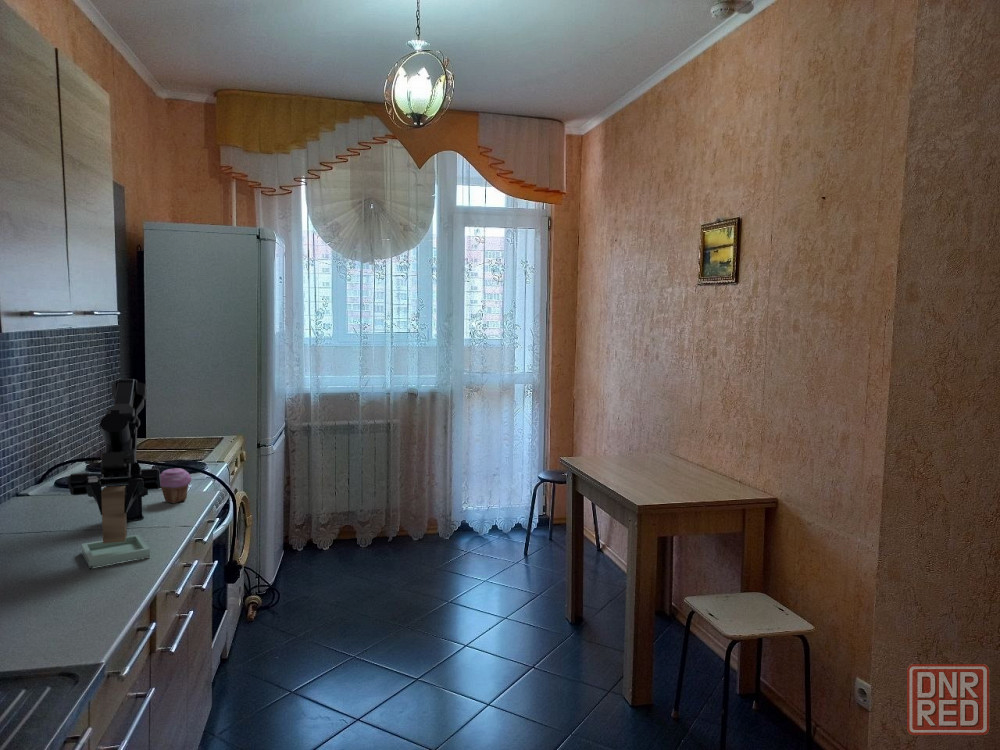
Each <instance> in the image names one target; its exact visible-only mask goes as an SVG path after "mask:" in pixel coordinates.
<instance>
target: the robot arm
mask: <svg viewBox="0 0 1000 750" xmlns="http://www.w3.org/2000/svg"><path fill="white" fill-rule="evenodd" d="M147 390H148V389H147V386H146V383H143V382H140V381H138V380H137V379H134V378H119V379H115V382H114V383H112V384H111V395H110V397H111V399H112V400H113V404H112V405H113V406H110V407H109V408H107V409H106V411H105V415H104V416H102V418H101V420H100V421H99V431H100V432H101V434H102V435H101V436H102V439H103V442H104V443H105V445H104V452H103V453H101V456H100V474H101V475H102V476H98V475H97V476H95V475H94V476H93V475H92V476H90V472H76V473H74V472H73V473H71V474H69V475H68V478H67V486H68V490H69V493H70V495H72V496H83V495H87V497H90V498H93V499H94V501H95V502H96V504H97V508H98V510H99V512H100V516H102V497H101V492H102V490H103V488H102V487H106V486H108V487H115V486H126V501H125V509H124V512H125V513H126V517H127V522H131V521H138V520H143V519H145V516H144V515H143V498H145V496H148V495H149V491H151V490H159V489H161V477H160V475H161V470H160V469H159V468H157V467H155V468H152V467H151V468H142V467H141V465H140V463H139V462H138V461H137V443H138V441H137V440H138V439H137V438H138V429H139V428H140V426H141V419H139V417H138V415H139V413H141V411H142V410H143V409H144V406H145V400H147V396H148V393H147Z"/></svg>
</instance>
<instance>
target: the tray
mask: <svg viewBox="0 0 1000 750" xmlns="http://www.w3.org/2000/svg"><path fill="white" fill-rule="evenodd" d="M81 554H82V557H83V556H84V557H83V559H84V558H85V559H84V561H85V560H86V561H85V563H86V562H87V563H86V565H87V564H88V565H87V567H88V566H89V567H88V569H89V568H93V567H97V566H103V565H107V564H113V563H117V562H122V561H128V560H134V559H142V558H147V557H150V558H151V550H150V547H149V546H148V545H147V543H146V541H145V540H144V539H143V538H142V537H141V534H131V535H127V537H126V540H125V541H124V542H114V543H104V544H103V540H98V541H92V542H85V543H81ZM142 560H143V559H142Z"/></svg>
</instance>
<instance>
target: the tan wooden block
mask: <svg viewBox="0 0 1000 750" xmlns="http://www.w3.org/2000/svg"><path fill="white" fill-rule="evenodd" d="M101 497H102V515H101V520H102V522H101V523H102V525H101V526H102V541H103V544H104V543H114V542H124V541H125V540H126V537H127V536H128V526H127V522H128V521H127V517H126V513H125V512H124V509H125V501H126V486H115V487H106V486H103V488H102V492H101Z"/></svg>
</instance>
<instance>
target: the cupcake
mask: <svg viewBox="0 0 1000 750" xmlns="http://www.w3.org/2000/svg"><path fill="white" fill-rule="evenodd" d="M160 477H161V488H160V489H161V491H162V495H163V498H164V500H165V501H166V502H168V503H170V504H176V503H179V502H183V501H186V499H187V497H188V489H189V486H190V484H191V482H192V476H191V475H190V473H189V472H188V471H187V470H186V469H184V468H180V467H179V468H178V467H177V468H168V469H165V470H163V471H162V472H160Z"/></svg>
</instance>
